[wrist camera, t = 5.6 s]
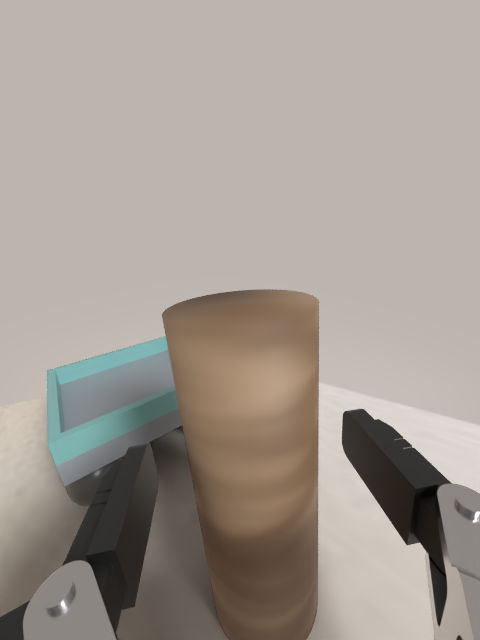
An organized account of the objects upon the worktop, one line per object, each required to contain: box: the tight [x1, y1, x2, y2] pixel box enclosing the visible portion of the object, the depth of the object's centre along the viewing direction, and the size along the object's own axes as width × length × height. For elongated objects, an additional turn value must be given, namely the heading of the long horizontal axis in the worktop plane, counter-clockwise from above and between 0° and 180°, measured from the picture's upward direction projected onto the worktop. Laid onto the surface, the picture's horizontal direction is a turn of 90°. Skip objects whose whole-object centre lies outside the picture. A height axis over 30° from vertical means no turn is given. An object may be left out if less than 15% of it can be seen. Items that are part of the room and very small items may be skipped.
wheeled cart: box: [47, 336, 182, 506], centre depth 22 cm, size 12×12×6 cm
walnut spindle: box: [162, 290, 319, 640], centre depth 10 cm, size 5×5×14 cm
